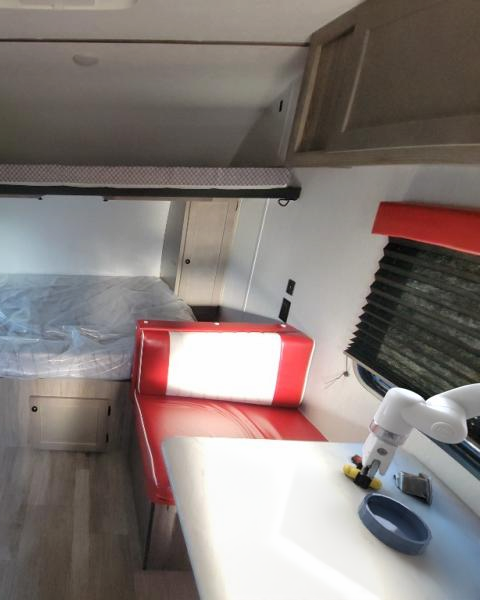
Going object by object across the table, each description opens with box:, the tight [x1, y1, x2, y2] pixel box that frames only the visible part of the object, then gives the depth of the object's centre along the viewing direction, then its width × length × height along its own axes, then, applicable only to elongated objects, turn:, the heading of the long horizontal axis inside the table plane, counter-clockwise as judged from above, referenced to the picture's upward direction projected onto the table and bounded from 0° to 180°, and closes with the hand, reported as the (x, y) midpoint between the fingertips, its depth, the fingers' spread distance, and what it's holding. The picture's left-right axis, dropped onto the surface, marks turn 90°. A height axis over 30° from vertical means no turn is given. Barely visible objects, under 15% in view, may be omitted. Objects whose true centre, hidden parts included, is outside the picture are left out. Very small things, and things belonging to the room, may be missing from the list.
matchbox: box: [350, 453, 362, 465], centre depth 103 cm, size 5×5×1 cm
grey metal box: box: [392, 470, 434, 505], centre depth 96 cm, size 10×7×12 cm
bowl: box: [357, 492, 433, 556], centre depth 83 cm, size 13×13×4 cm
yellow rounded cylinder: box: [342, 464, 383, 490], centre depth 96 cm, size 9×3×3 cm, turn 51°
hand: (360, 479), depth 97 cm, fingers open, 3 cm apart
